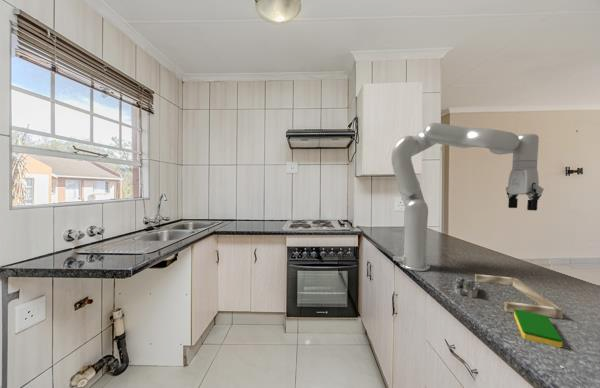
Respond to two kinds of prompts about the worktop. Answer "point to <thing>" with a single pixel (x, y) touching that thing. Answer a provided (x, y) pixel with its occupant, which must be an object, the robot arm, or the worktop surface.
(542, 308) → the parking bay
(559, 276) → the worktop surface
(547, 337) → the dish sponge
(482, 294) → the worktop surface
